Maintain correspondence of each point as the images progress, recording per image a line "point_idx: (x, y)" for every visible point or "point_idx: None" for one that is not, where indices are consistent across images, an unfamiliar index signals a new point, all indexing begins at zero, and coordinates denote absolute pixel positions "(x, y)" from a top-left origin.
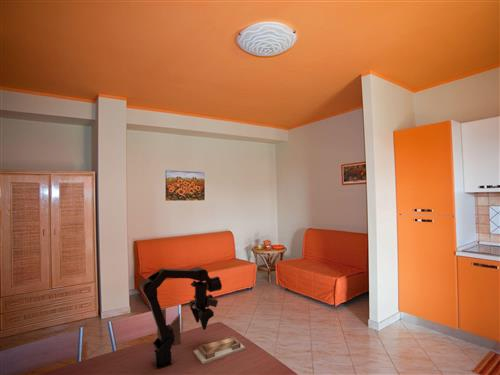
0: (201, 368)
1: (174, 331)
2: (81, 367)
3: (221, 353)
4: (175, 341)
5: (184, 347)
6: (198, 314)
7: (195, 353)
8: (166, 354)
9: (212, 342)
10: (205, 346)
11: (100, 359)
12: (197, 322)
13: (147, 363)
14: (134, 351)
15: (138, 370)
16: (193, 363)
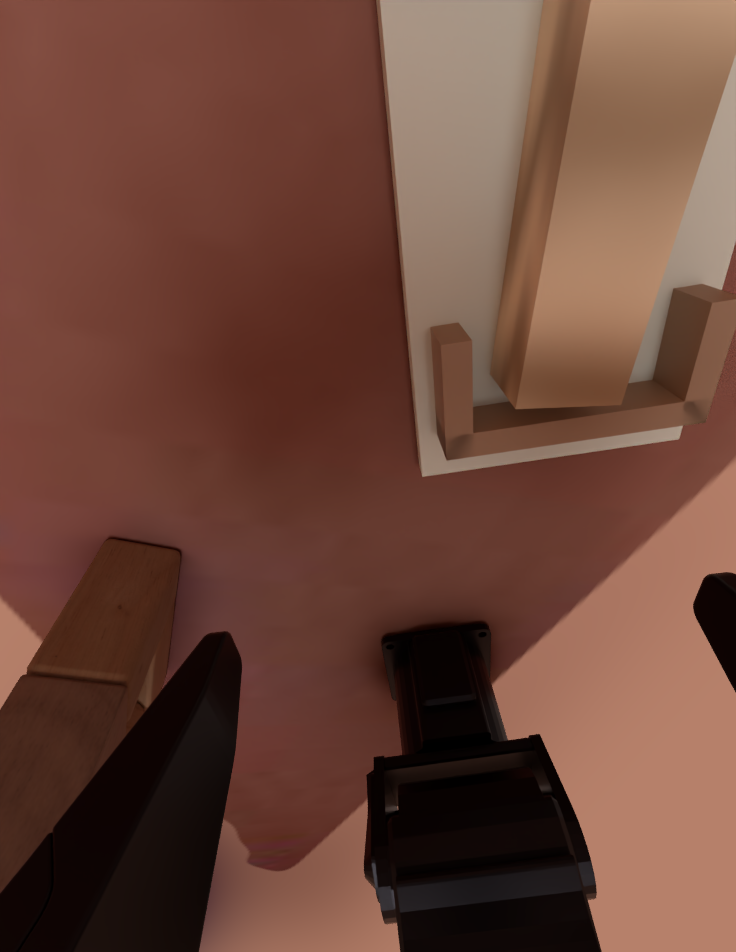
0: (713, 450)
1: (132, 704)
2: (282, 857)
3: (715, 161)
4: (170, 600)
5: (267, 522)
6: (136, 905)
7: (468, 465)
8: (499, 720)
9: (538, 273)
10: (574, 406)
11: (239, 832)
12: (239, 656)
13: (386, 712)
14: None
15: None
16: (587, 494)
